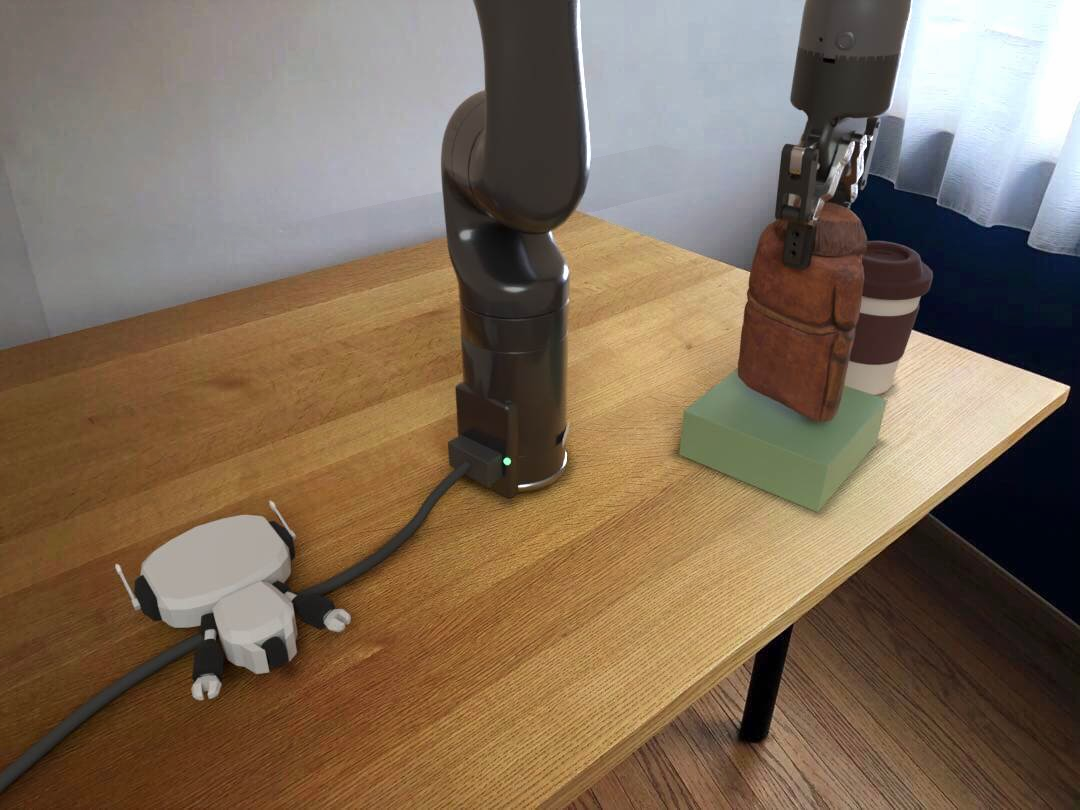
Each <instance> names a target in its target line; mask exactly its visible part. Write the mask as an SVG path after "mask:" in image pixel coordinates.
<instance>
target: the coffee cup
mask: <svg viewBox="0 0 1080 810" xmlns="http://www.w3.org/2000/svg"><path fill="white" fill-rule="evenodd" d="M862 265H863V269H864V284H863V292H862V303H861V309H860V314H859V318H858V321H857V324H856V326H855V329H856V331H855V337H854V342H853V346H852V349H851V354H850V359H849V363H848V368H847V373H846V377H845V384H844V386H847V387H851V388H854V389H857V390H860V391H863V392H866V393H869V394H872V395H875V396H878V395H880V394H883V393H885V392H887V391H888V390H889V389H890V387H891V386H892V384H893V382H894V381H893V380H894V377H895V374H896V372H897V369H898V366H899V364H900V360H901V359H902V358H903V356H904V354H905V353H906V350H907V346H908V342H909V340H910V337H911V334H912V331H913V329H914V326H915V323H916V319H917V317H918V314H919V310H920V300H921V297H922V296H924V295H925V294H927V293H928V292H929V291H930V290H931V285H932V281H933V278H934V273H933V270H932V269H931V268H930V267H929V266H928V265H927V264H925V263H924V262H923V261H922V260H921V256H920V254H919V253H918V252H917V251H915V250H914V249H913V248H912V247H911V248H910V247H909V246H906V245H904V244H899V243H896V242H891V241H884V240H867V249H866V252H865V254H863V255H862Z"/></svg>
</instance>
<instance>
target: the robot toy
mask: <svg viewBox="0 0 1080 810" xmlns="http://www.w3.org/2000/svg"><path fill="white" fill-rule="evenodd" d="M268 502H269V507H270V509H271V510H272V511H273V513H275V515H276V517H277V518H278V520H279V521H280V523H281V524H279V523H278V522H276V521H275V520H270V521H268V520H267V519H266V518H265V516H262V515H252V514H240V515H239V514H238V515H234V516H228V517H223V518H221V519H217V520H214V521H210V522H207V523H204V524H200V525H198V526H194V527H192V528H191V529H189V530H187V531H185V532H183V533H182V534H179V535H177V536H176V537H174V538H172V539H170V540H168V541H167V542H166V543H164V544H163V545H161V546H159V547H158V548H156V549H155V550H154V551H153V552H151V553H150V554H149V555H148V556H147V557H146V558H145V560H144V561H142V563H141V566H140V567H141V568H140V574H139V576H138V577H137V578H136V579H135V580H134V589H133V591H132V589H131V588H130V586H129V583H128V582H127V580H126V577H125V575H124V573H123V570H122V567H121V565H120V564H118V563H115V565H114V566H115V570H116V573H117V574H118V575H119V577H120V579H121V581H122V583H123V585H124V587H125V589H126V592H127V593H128V595H129V597H130V599H131V600H130V601H131V604H132V607H133V608H134V610H135V612H136V611H139V610H141V612H142V614H143V615H145V616H147V617H148V618H149V619H150V620H153V622H160V621H162V622H164V623H165V624H167V625H168V626H169V627H172V628H179V629H181V628H182V629H183V628H195V627H199V633H200V634H201V635H202V637H203V638H205V640H204V641H203V642H202V643H201V644H200V645H199V646H198V647H197V648H196V649H194V655H193V663H192V664H193V666H192V676H191V679H192V681H193V682H194V683H193V684H192V686H191V688H190V690H191V694H192V697H193V698H194V699H195V700H197V701H204V700H205V698H204V694H205V693H206V692H207V697H208V700H211V699H214V698H217V697H218V695H219V694H220V691H221V688H222V685H223V684H222V682H223V674H224V672H223V671H224V658H225V657H226V659H227V661H229V663H231V664H233V665H235V666H237V667H243V668H245V669H248V670H249V671H251V672H252V673H254V674H255V675H260V674H268V673H270V669H269V668H271V669H273V670H277V669H280V668H282V667H284V666H285V665H286V664H287V663H288V662H289V663H290V662H291V661H292V659H293V658H294V657H295V656H296V655H297V654H298V650H297V644H296V641H297V638H298V636H299V634H298V632H299V631H298V627H297V626H298V625H297V621H296V615H297V616H298V617H299V619H300V620H301V622H303V623H305V624H307V625H309V626H311V627H313V628H316V629H318V630H320V631H323V630H324V629H325V628H327V630H329V631H330V632H335V633H341V632H343V631H344V630H345V629H346V626H347V625H349V624H350V623H351V620H352V616H351V614H350V613H349V612H347V611H346V610H345V609H344V608H336V605H335V603H334V600H332V599H329V598H327V597H325V596H324V595H321V596H320V595H318V594H316V593H307V594H301V595H295V594H293V592H291V587H290V585H288V584H286V583H285V582H286V581H287V580H288V578H289V577H290V575H291V573H292V561H293V560H294V559H295V558H296V549H295V542H294V541H296V539H297V536H296V534H295V532H294V531H293V530H292V529H290V527H289V526H288V524H287V522H286V521H285V519H284V518H283V516H282V515H281V513H280V512H279V509H277V506H276V504H275V503H274V501H272V500H270V499H269V500H268ZM295 613H296V615H295ZM218 636H219V637H218ZM216 637H218V639H219V641H220V644H221V647H220V645H219V644H218V642H217V638H216ZM224 655H225V657H224Z"/></svg>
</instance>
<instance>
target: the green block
mask: <svg viewBox="0 0 1080 810" xmlns="http://www.w3.org/2000/svg"><path fill="white" fill-rule="evenodd" d="M887 403H888V399H887V398H885V397H881V396H878V395H872V394H869V393H866V392H863V391H860V390H857V389H854V388H851V387H847V386H844V388H843V393H842V397H841V402H840V405H839V409H838V411H837V413H836V415H835V417H834V418H833V419H832V420H830V421H827V422H823V421H815V420H812V419H810V418H808V417H806V416H804V415H802V414H800V413H798V412H796V411H794V410H792V409H791V408H788V407H786V406H785V405H783V404H781V403H780V402H777V401H775V400H773V399H771V398H769V397H767V396H764V395H763V394H761V393H759V392H757V391H755V390H753V389H751V388H749V387H748V386H747V385H746V384H745V383H744V382H743V381H742V380H741V379H740V378H739V377H738V367H737V368H735V369H734V370H733V371H732V372H731V373H729V374H727V376H726V377H724V378H723V379H722V380H721V381H719V382H718V383H717V384H715V385H714V386H712V388H710V389H709V390H708V391H707V392H705V393H704V394H702V395H701V397H699V398H698V399H697V400H695V401H694V402H693V403H692V404H690V405H689V406H688V407H686V408H684V409H683V414H682V423H681V432H680V442H679V451H678V455H679V456H681V457H684V458H686V459H688V460H691V461H693V462H695V463H697V464H701V465H703V466H705V467H707V468H710V469H712V470H715V471H717V472H720V473H722V474H724V475H727V476H729V477H732V478H734V479H736V480H739V481H741V482H743V483H746V484H748V485H750V486H753V487H755V488H758V489H761V490H762V491H765V492H768V493H769V494H772V495H775V496H777V497H779V498H782V499H785V500H786V501H789V502H791V503H794V504H797V505H799V506H801V507H803V508H806V509H809V510H811V511H813V512H815V513H819V512H820V511H821V509H822V508H823V507H824V506H825V505H826V503H827V502H828V501H829V500H830V498H832V496H833V495H834V494H835V493H836V492H837V490H838V489H839V488H840V487H841V486H842V484H843V483H844V482H845V481H846V480H847V479H848V477H849V476H850V475H851V474H852V473H853V472H854V470H855V469H856V468H857V467H858V466H859V465H860V463H861V462H862V461H863V459H864V458H865V457H866V456H867V455H868V454H869V452H870V451H872V448H873V447H875V445H876V444H877V442H878V439H879V434H880V431H881V427H882V422H883V419H884V415H885V411H886V408H887Z"/></svg>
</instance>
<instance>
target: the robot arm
mask: <svg viewBox="0 0 1080 810" xmlns="http://www.w3.org/2000/svg"><path fill="white" fill-rule="evenodd" d="M472 2H473V4H474V8H475V12H476V16H477V20H478V25H479V29H480V37H481V43H482V52H483V53H482V54H483V67H484V73H483V74H484V90H480V91H478V92H475V93H474V94H472V95H469V97H467V98H466V99H464V100H463V101H462V102H461V103H460V104H459V105H458V106H457V108H456V109H455V110H454V111H453V113H452V114H451V116H450V118H449V120H448V121H447V124H446V127H445V129H444V133H443V137H442V143H441V149H440V150H441V151H440V175H441V178H440V179H441V190H442V200H443V202H442V203H443V213H444V223H445V224H444V225H445V233H446V243H447V250H448V256H449V259H450V262H451V265H452V268H453V271H454V273H455V276H456V281H457V287H458V303H459V304H458V305H459V322H460V346H461V367H462V381H461V382H459V383H458V384H456V385H455V390H454V391H455V406H456V424H457V425H456V426H457V436H455V437H454V438H453V439H451V440H449V441H448V442H447V453H448V465H449V467H451V468H453V470H452V471H451V472H450V473H449V474H448V475H447V476H445V477H444V479H443V480H442V481H441V482H439V484H438V485H436V487H434V488H433V490H432V491H431V492H430V493H429V494H428V496H427V497H426V498H425V500H424V501H423V502H422V504H421V506H420V507H419V509H418V511H417V512H416V513H415V515H414V516H413V517H412V519H411V520H410V521H409V522H408V523H407V524H406V525H405V526H404V527H403V528H402V529H401V530H400V531H399V532H398V533H397V534H396V535H394V537H392V538H391V539H390V540H389V541H388V542H387V543H386V544H384V545H383V546H382V547H380V548H379V549H377V550H376V551H375V552H374V553H372V554H371V555H369V556H368V557H366V558H364V559H363V560H361V561H359V562H358V563H356V564H354V565H352V566H351V567H349V568H347V569H345V570H343V571H341V572H340V573H338V574H336V575H335V576H332V577H331V578H328V579H327V580H324V581H322V582H320V583H317V584H315V585H312V586H310V587H307V588H304V589H302V590H299V591H297V592H294V593H293V592H292V593H293V594H295V595H301V594H307V593H316V594H318V595H320V596H324V595H326V594H328V593H330V592H332V591H335V590H336V589H338V588H340V587H342V586H344V585H346V584H348V583H349V582H351V581H353V580H355V579H356V578H358V577H360V576H361V575H363V574H365V573H366V572H368V571H370V570H372V569H373V568H374V567H376V566H377V565H379V564H381V563H382V562H383V561H385V560H386V559H387V558H388V557H390V556H391V555H392V554H393V553H395V552H396V551H397V550H399V548H401V547H402V545H404V544H405V543H406V542H407V541H408V540H409V539H410V538H412V536H413V535H414V534H415V533H416V532H417V531H418V530H419V528H421V526H422V525H423V524H424V522H425V521H426V519H427V518H428V516H429V515H430V513H431V512H432V510H433V509H434V507H435V506H436V504H437V503H438V502H439V501H440V499H442V497H443V496H444V495H445V494H446V493H447V492H448V491H449V490H450V489H451V488H452V487H453V486H454V485H455V484H456V483H457V482H459V480H461V479H462V478H463V477H466V478H467V479H469V480H471V481H473V482H474V483H477V484H479V485H480V486H482V487H484V488H487V489H489V490H491V491H493V492H495V493H497V494H498V495H500V496H502V497H505V498H506V499H512V498H513V497H514V496H516V495H518V494H521V493H523V494H524V493H532V492H535V491H538V490H542V489H545V488H548V487H549V486H551V485H552V484H554V483H556V482H557V481H558V480H560V478H561V477H562V476H563V475H564V473H565V471H566V470H567V469H566V468H567V457H568V454H567V449H566V448H567V437H568V434H569V430H570V421H568V422H567V413H568V412H567V410H568V408H567V407H568V373H569V371H568V368H569V366H568V365H569V364H568V363H569V330H570V329H569V328H570V288H571V287H570V286H571V282H570V281H571V277H570V276H571V275H570V268H569V264H568V262H567V260H566V258H565V256H564V255H563V253H562V251H561V249H560V248H559V246H558V243H557V241H556V240H555V237H554V235H553V234H554V233H553V231H555V230H557V229H558V228H560V227H561V226H563V225H564V224H565V223H567V221H568V220H569V219H570V218H571V217H572V216H573V215H574V213H575V212H576V210H577V209H578V207H579V206H580V204H581V202H582V200H583V197H584V195H585V193H586V189H587V186H588V182H589V178H590V171H591V159H592V158H591V155H592V154H591V136H590V135H591V133H590V122H589V113H588V111H589V110H588V102H587V101H588V100H587V92H586V79H585V71H584V69H585V67H584V59H583V57H584V56H583V48H582V45H583V44H582V28H581V25H582V24H581V0H472ZM912 6H913V0H805V2H804V5H803V12H802V18H801V24H800V30H799V38H798V44H797V50H796V55H795V56H796V57H795V62H794V64H795V65H794V69H793V70H794V71H793V77H792V83H791V90H790V96H789V101H790V104H791V105H792V107H794V108H795V109H796V110H798V111H802V112H804V114H805V115H806V116H807V120H806V122H805V127H804V130H803V133H802V134H801V137H800V139H799V142H798V144H793V143H792V144H791V143H785V144H784V145H783V147H782V150H781V153H780V163H779V172H778V182H777V191H776V199H775V200H776V202H775V211H774V218H775V220H777V219H778V220H784V221H787V222H788V224H787V230H786V236H785V243H784V249H783V255H782V263H783V265H784V266H786V267H790V268H794V269H798V270H805V269H806V268H808V267H809V266H810V264H811V258H812V253H813V247H814V242H815V236H816V231H817V223H818V221H819V217H820V214H821V212H822V209H823V206H824V203H825V202H830V203H834V204H837V205H840V206H843V207H845V208H847V209H849V210H851V205H852V203H854V202H855V201H856V199H857V197H858V190H860V191H863V190H864V189H865V187H866V186H867V180H868V176H869V172H870V168H871V163H872V160H873V156H874V152H875V147H876V143H877V139H878V135H879V131H880V128H881V121H882V120H881V116H883V115H884V114H886V113H888V112H889V111H890V109H891V108H892V106H893V101H894V96H895V91H896V87H897V82H898V78H899V72H900V67H901V64H902V59H903V53H904V49H905V44H906V39H907V34H908V30H909V25H910V20H911V15H912V8H913V7H912ZM879 116H880V117H879ZM816 182H817V183H822V184H816ZM813 201H814V202H813ZM799 204H801V205H800V208H799V207H798V206H799ZM812 204H813V205H812ZM216 639H219V636H218V637H216ZM204 640H205V638H203V637H202V635H201V634H200V632H198V633H196V634H194V635H192V636H190V637H188V638H187V639H184V640H182V641H181V642H179V643H177V644H175V645H173V646H171V647H169V648H168V649H166V650H164V651H162V652H161V653H159V654H157V655H155V656H154V657H152V658H150V659H149V660H147V661H145V662H144V663H142V664H140V665H138V666H137V667H136V668H134V669H133V670H131V671H130V672H128V673H126V674H125V675H123V676H121V677H120V678H118V679H117V680H116V681H114V682H112V683H111V684H110V685H109V686H107V687H106V688H104V689H103V690H101V691H100V692H98V693H97V694H96V695H94V696H92V697H91V698H90V699H89V700H87V701H85V703H83V704H82V705H80V706H79V707H78V708H77V709H75V710H74V711H73V712H72V713H70V714H69V715H68V716H67V717H66V718H64V719H63V720H62V721H61V722H59V723H58V724H57V725H56V726H54V727H53V728H52V729H51V730H49V731H48V732H47V733H46V734H45V735H44V736H43V737H41V738H40V739H39V740H38V741H37V742H35V743H34V744H33V745H31V747H30V748H28V749H27V750H26V751H25V752H24V753H23V754H21V755H20V756H19V757H18V758H16V759H15V760H14V761H13V762H12V763H11V764H9V765H8V766H7V767H6V768H5V769H4V770H2V771H1V772H0V794H2V793H3V791H5V790H6V789H7V788H8V787H9V786H11V785H12V784H13V783H14V782H15V781H16V780H17V779H19V778H20V777H21V776H22V775H23V774H25V772H27V771H28V770H29V769H30V768H31V767H32V766H34V765H35V764H36V763H37V762H38V761H40V760H41V759H43V757H44V756H46V754H48V753H49V752H50V751H51V750H52V749H53V748H55V747H56V746H57V745H58V744H59V743H60V742H61V741H63V740H64V739H65V738H66V737H68V736H69V735H70V734H71V733H72V732H73V731H75V730H76V729H77V728H79V727H80V726H81V725H82V724H83V723H85V722H86V721H87V720H89V718H91V717H92V716H93V715H94V714H96V713H97V712H98V711H100V710H101V709H102V708H104V707H105V706H107V705H108V704H109V703H111V702H112V701H113V700H115V699H116V698H117V697H119V696H121V695H122V694H124V693H125V692H126V691H128V690H130V689H131V688H132V687H134V686H136V685H137V684H138V683H140V682H142V681H143V680H144V679H146V678H147V677H149V676H151V675H153V674H154V673H156V672H157V671H159V670H161V669H163V668H164V667H166V666H167V665H170V664H171V663H173V662H174V661H176V660H177V659H180V658H181V657H183V656H185V655H187V654H189V653H191V652H192V651H195V650H196V648H197V647H198V646H199V645H200V644H201V643H202V642H203V641H204Z"/></svg>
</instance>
